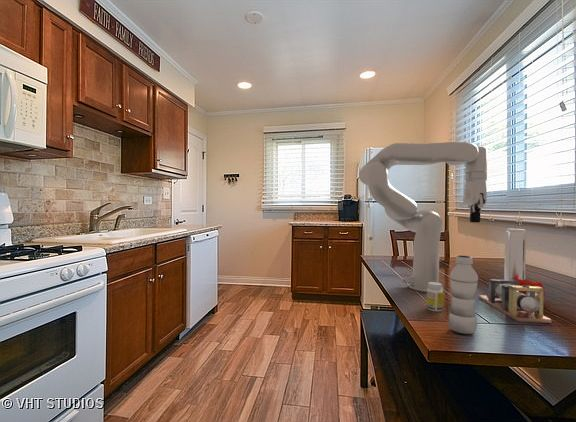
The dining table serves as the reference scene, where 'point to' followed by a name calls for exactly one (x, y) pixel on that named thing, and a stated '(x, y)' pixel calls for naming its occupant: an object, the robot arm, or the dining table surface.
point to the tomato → (529, 283)
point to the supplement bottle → (435, 296)
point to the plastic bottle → (463, 296)
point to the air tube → (521, 300)
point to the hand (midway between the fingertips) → (475, 222)
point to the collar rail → (515, 300)
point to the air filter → (515, 254)
